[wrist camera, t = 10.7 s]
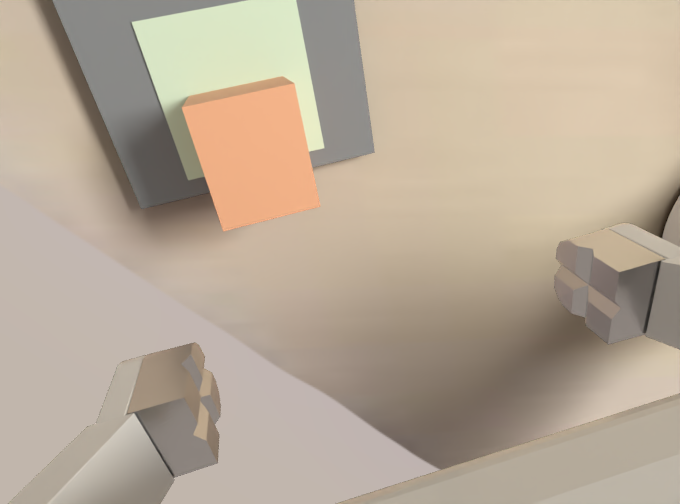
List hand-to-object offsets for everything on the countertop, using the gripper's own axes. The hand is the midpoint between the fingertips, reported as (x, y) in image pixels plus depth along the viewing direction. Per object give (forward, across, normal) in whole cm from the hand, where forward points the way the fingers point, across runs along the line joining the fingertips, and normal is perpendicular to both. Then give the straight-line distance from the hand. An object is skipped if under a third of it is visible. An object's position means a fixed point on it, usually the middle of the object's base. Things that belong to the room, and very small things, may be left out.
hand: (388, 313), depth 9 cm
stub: (+17, +2, 0) cm, 18 cm away
